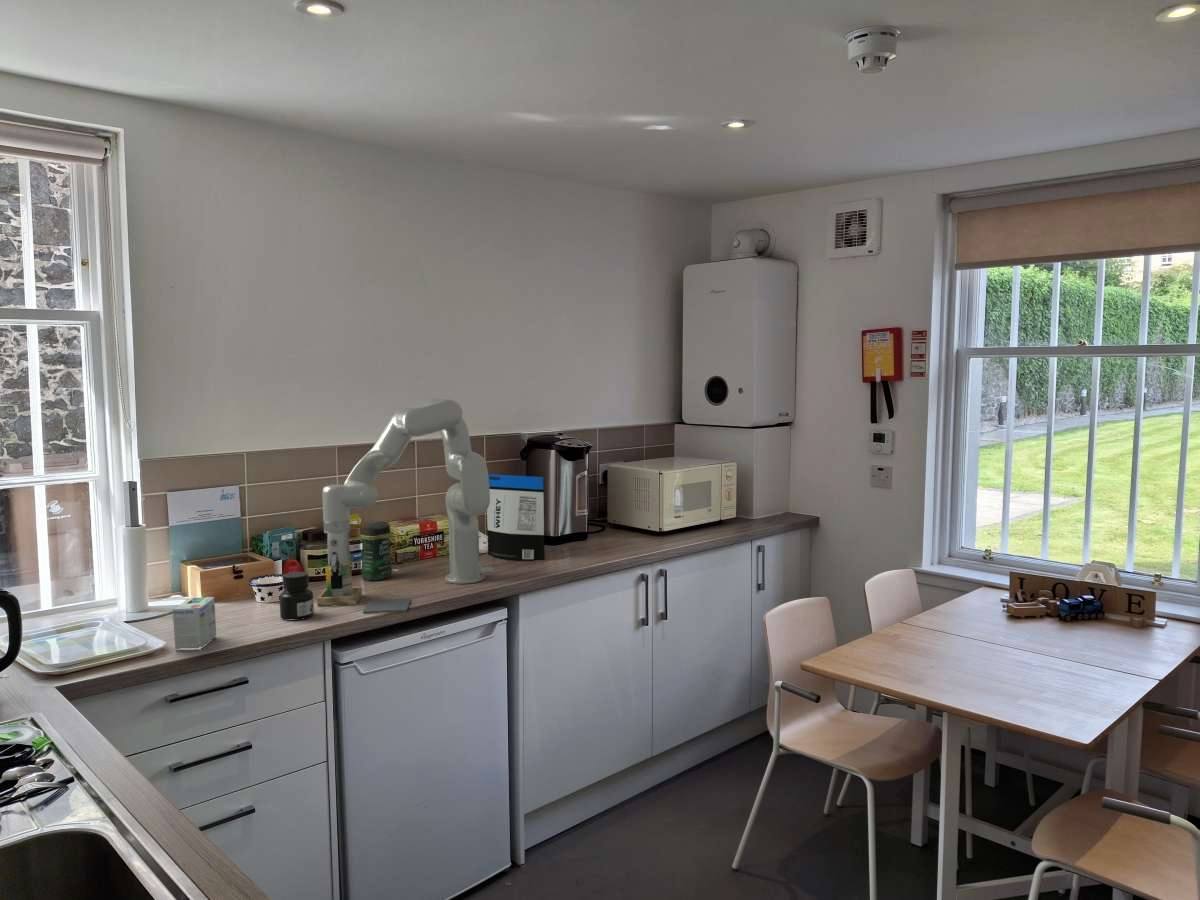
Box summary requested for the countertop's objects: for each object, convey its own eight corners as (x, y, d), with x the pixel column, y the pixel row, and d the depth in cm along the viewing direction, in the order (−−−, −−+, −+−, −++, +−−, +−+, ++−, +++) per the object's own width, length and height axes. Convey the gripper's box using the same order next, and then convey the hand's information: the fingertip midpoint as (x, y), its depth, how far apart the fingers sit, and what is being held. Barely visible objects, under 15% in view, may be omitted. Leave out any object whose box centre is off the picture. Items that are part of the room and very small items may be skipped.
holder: (361, 595, 263) (361, 587, 263) (356, 604, 252) (355, 596, 252) (325, 596, 262) (324, 588, 261) (317, 606, 251) (317, 598, 251)
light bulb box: (190, 638, 223) (188, 597, 222) (217, 637, 224) (215, 596, 223) (174, 651, 212) (171, 608, 211) (202, 650, 213) (199, 607, 212)
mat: (410, 600, 256) (410, 598, 256) (406, 611, 244) (406, 609, 244) (369, 602, 255) (369, 600, 255) (363, 613, 243) (363, 611, 243)
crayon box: (346, 595, 261) (345, 557, 259) (353, 596, 259) (351, 558, 258) (326, 600, 255) (324, 562, 254) (333, 602, 253) (331, 563, 252)
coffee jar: (375, 582, 278) (373, 526, 276) (357, 580, 282) (355, 524, 280) (396, 576, 287) (394, 521, 285) (378, 573, 290) (376, 519, 289)
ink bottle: (306, 621, 236) (304, 578, 235) (274, 621, 236) (272, 579, 235) (319, 611, 246) (317, 570, 245) (288, 611, 246) (286, 570, 245)
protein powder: (537, 563, 303) (536, 478, 300) (480, 557, 313) (478, 475, 311) (551, 557, 311) (549, 475, 308) (495, 552, 322) (493, 472, 319)
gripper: (344, 531, 246) (347, 592, 248) (354, 521, 264) (357, 577, 265) (317, 532, 246) (320, 593, 247) (329, 521, 263) (332, 578, 265)
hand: (339, 584), depth 256 cm, fingers closed on crayon box, 7 cm apart
